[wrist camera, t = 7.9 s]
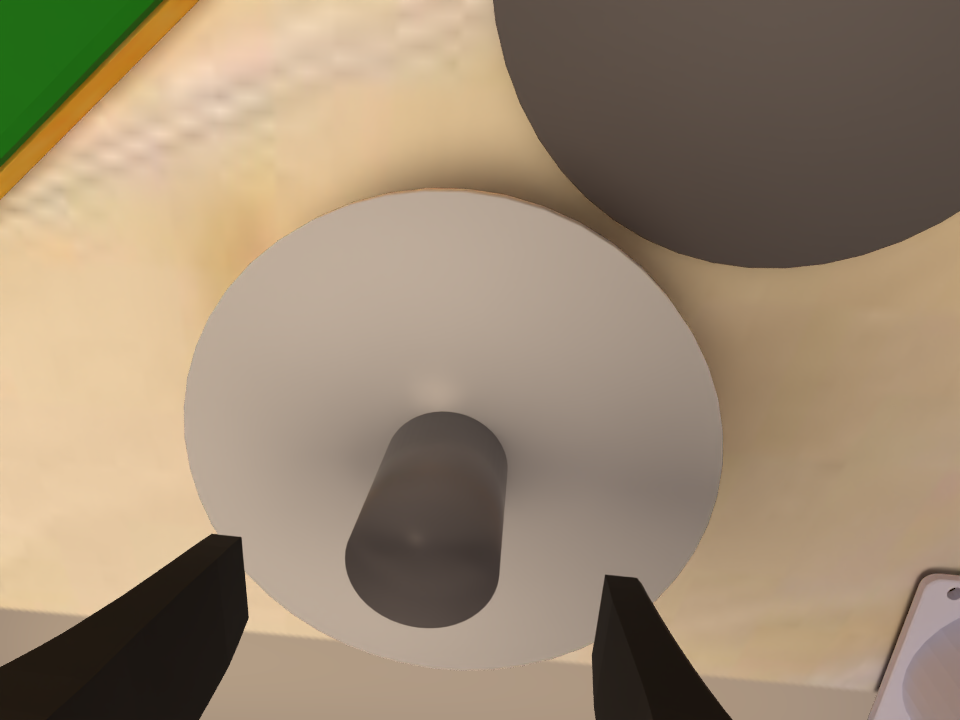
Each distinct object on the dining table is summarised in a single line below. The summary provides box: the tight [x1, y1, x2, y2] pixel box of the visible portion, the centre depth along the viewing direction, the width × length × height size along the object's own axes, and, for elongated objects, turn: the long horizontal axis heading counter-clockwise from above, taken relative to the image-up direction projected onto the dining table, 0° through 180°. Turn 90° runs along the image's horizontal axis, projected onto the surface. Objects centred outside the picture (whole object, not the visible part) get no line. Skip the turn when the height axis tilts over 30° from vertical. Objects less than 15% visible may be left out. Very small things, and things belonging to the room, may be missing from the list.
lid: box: [184, 188, 723, 670], centre depth 16 cm, size 14×14×5 cm
